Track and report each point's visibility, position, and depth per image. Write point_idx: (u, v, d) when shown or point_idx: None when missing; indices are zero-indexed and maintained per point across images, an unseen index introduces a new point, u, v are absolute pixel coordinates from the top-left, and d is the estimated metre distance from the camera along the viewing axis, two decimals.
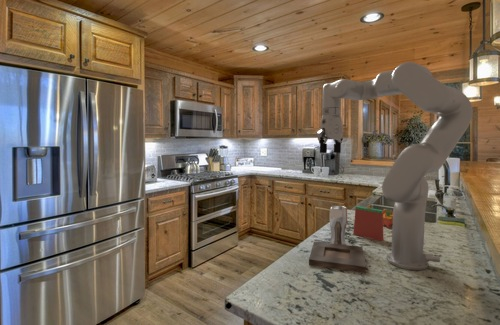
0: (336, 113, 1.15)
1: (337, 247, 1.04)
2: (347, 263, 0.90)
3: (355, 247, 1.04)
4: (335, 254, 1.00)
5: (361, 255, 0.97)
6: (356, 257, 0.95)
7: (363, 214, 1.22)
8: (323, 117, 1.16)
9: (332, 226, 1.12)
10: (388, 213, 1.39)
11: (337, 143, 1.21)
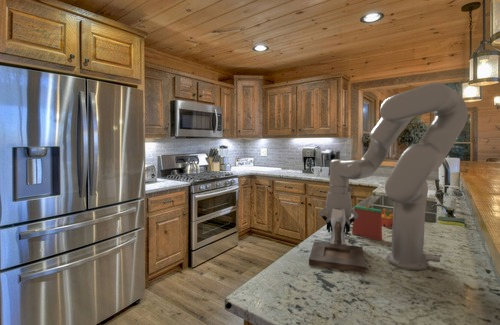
0: None
1: (337, 247, 1.04)
2: (347, 263, 0.90)
3: (355, 247, 1.04)
4: (335, 254, 1.00)
5: (361, 255, 0.97)
6: (356, 257, 0.95)
7: (362, 214, 1.23)
8: (350, 195, 1.11)
9: (332, 226, 1.12)
10: (387, 213, 1.40)
11: (329, 221, 1.15)
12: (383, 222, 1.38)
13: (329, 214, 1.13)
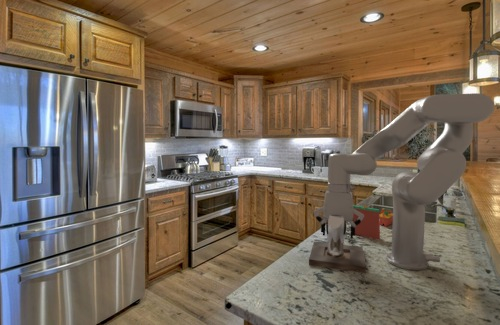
0: None
1: None
2: (347, 263, 0.90)
3: (355, 247, 1.04)
4: None
5: (361, 255, 0.97)
6: (356, 257, 0.95)
7: None
8: (352, 195, 0.96)
9: (329, 235, 0.97)
10: (386, 212, 1.40)
11: None
12: (382, 221, 1.39)
13: (327, 217, 0.97)
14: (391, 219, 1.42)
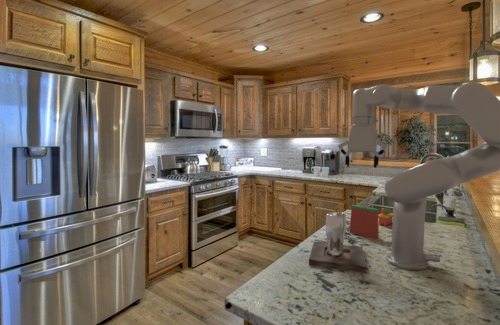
0: None
1: None
2: (347, 263, 0.90)
3: (355, 247, 1.04)
4: None
5: (361, 255, 0.97)
6: (356, 257, 0.95)
7: (359, 213, 1.25)
8: (375, 127, 1.03)
9: (329, 235, 0.97)
10: (385, 212, 1.41)
11: None
12: (381, 221, 1.39)
13: (352, 148, 1.05)
14: (390, 219, 1.43)
